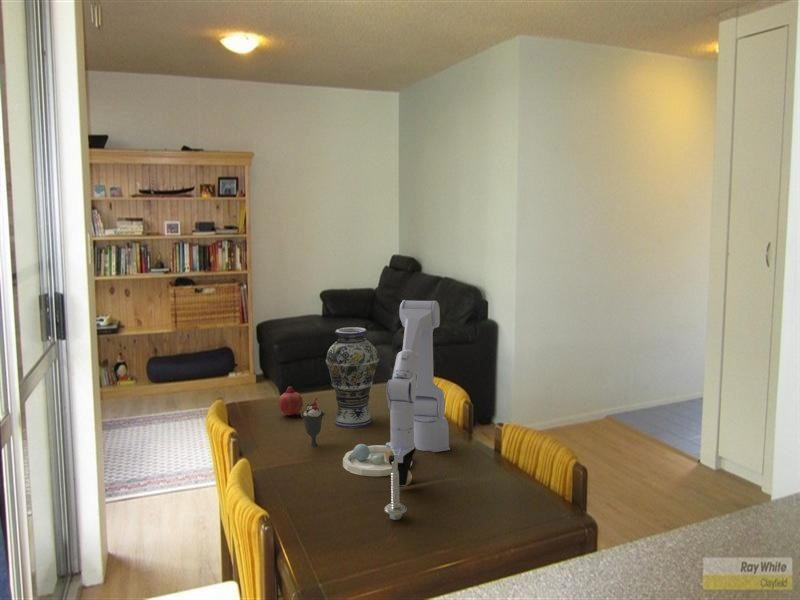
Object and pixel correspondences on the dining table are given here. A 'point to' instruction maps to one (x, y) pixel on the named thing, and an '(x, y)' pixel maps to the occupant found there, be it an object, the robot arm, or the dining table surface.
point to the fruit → (290, 402)
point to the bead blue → (361, 452)
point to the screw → (395, 495)
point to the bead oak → (388, 454)
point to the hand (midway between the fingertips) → (402, 480)
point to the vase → (352, 376)
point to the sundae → (313, 421)
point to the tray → (369, 462)
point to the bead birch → (408, 479)
